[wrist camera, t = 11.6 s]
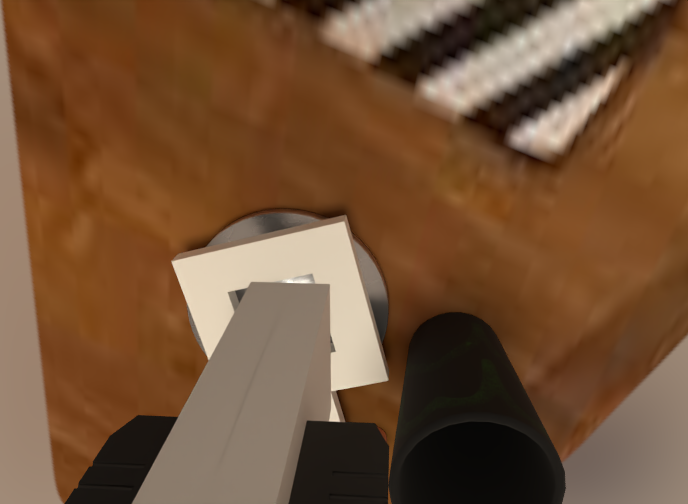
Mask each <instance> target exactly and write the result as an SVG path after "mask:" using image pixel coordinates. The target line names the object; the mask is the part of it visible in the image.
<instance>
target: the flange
mask: <svg viewBox="0 0 688 504" xmlns="http://www.w3.org/2000/svg"><path fill="white" fill-rule="evenodd" d="M172 264H173V267H174V269H175V272H176V275H177V277H178V280H179V283H180V285H181V288H182V291H183V293H184V296H185V299H186V301H187V304H188V307H189V309H190V312H191V315H192V317H193V320H194V322H195V325H196V328H197V330H198V333H199V336H200V338H201V341H202V344H203V346H204V349H205V352H206V354H207V357H208V360H209V359H210V357H211V355H212V353H213V352H214V350H215V348H216V346H217V344H218V342H219V340H220V339H221V337H222V335H223V333H224V331H225V329H226V327H227V326H228V324H229V322H230V320H231V318H232V316H233V314H234V312H235V311H236V309H237V307H238V305H239V301H238V298H237V295H236V292H235V290H239V289H244V288H248V286H249V285H250V283H251V282H276V281H280V280H285V279H290V278H294V277H299V276H303V275H308V274H313V277H314V281H315V284H330V334H331V337H332V340H333V343H331V412H330V418H329V421H332V422H345V419H344V416H343V412H342V409H341V406H340V403H339V400H338V396H337V393H336V390H342V389H347V388H352V387H358V386H363V385H368V384H374V383H379V382H384V381H389V369H388V365H387V362H386V358H385V354H384V351H383V347H382V343H381V340H380V336H379V333H378V329H377V325H376V322H375V318H374V314H373V311H372V307H371V303H370V300H369V296H368V293H367V289H366V285H365V282H364V278H363V274H362V271H361V267H360V264H359V260H358V256H357V253H356V249H355V245H354V242H353V238H352V234H351V231H350V227H349V224H348V220H347V216H346V215H342V216H338V217H334V218H330V219H325V220H321V221H317V222H312V223H308V224H304V225H299V226H295V227H291V228H287V229H282V230H278V231H274V232H269V233H265V234H261V235H257V236H252V237H248V238H244V239H239V240H235V241H231V242H226V243H222V244H218V245H214V246H209V247H205V248H201V249H196V250H192V251H188V252H183V253H179V254H178V255H177V256H176V257H175V258H174V259H173V260H172Z"/></svg>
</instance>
